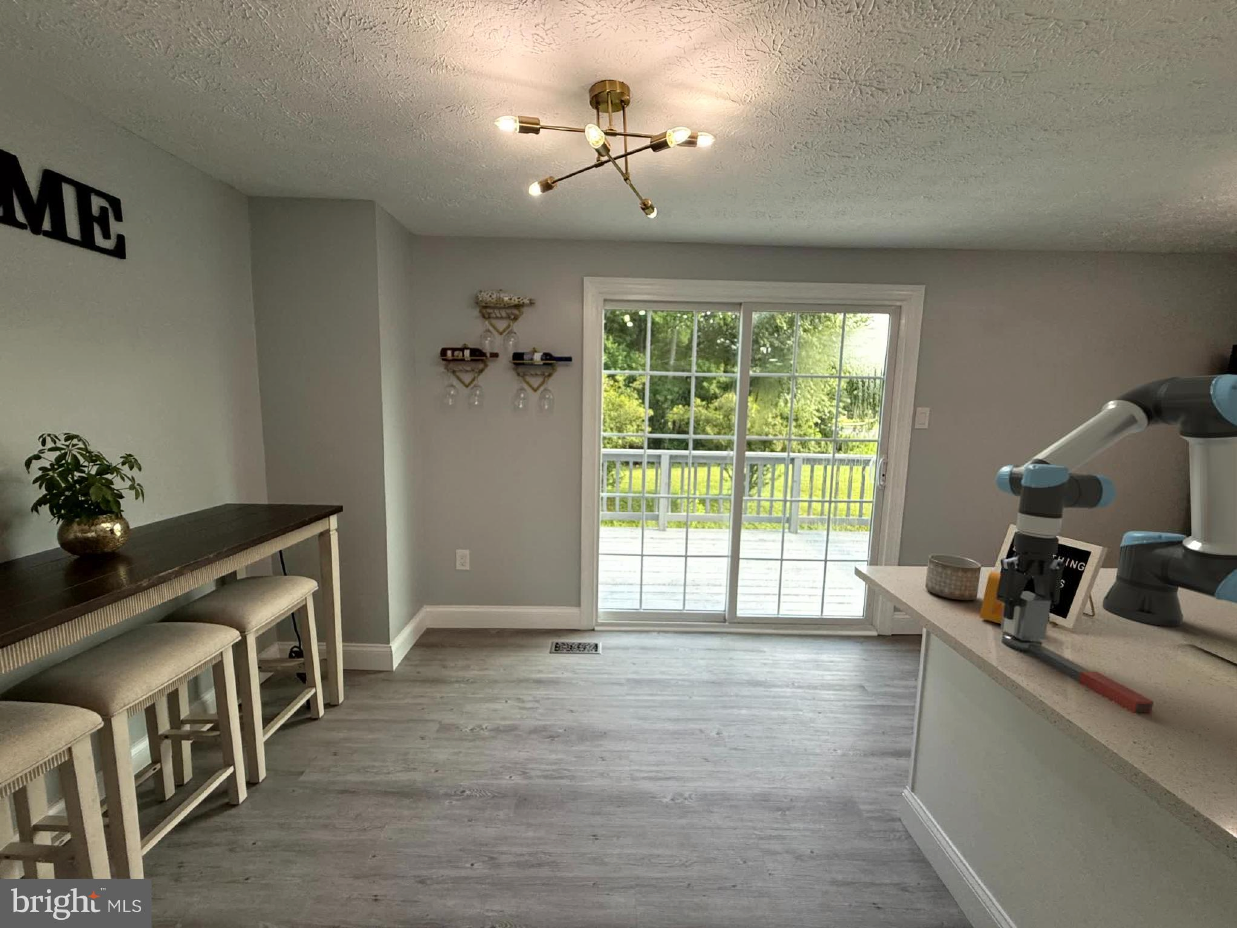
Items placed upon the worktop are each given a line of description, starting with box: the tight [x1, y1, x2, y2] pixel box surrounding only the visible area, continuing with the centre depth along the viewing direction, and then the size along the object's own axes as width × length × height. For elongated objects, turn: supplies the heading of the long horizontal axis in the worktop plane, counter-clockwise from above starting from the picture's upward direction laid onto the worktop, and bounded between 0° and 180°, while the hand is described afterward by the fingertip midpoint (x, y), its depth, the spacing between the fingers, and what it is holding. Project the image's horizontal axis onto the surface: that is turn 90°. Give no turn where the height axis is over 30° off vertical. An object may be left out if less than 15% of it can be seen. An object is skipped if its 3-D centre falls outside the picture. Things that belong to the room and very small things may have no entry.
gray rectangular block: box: [1000, 590, 1051, 640], centre depth 113 cm, size 6×6×9 cm
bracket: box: [979, 571, 1004, 625], centre depth 127 cm, size 11×7×12 cm, turn 131°
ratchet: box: [1001, 630, 1154, 715], centre depth 103 cm, size 28×7×6 cm, turn 4°
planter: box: [924, 553, 982, 601], centre depth 144 cm, size 13×13×10 cm
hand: (1022, 632), depth 113 cm, fingers closed on gray rectangular block, 6 cm apart
